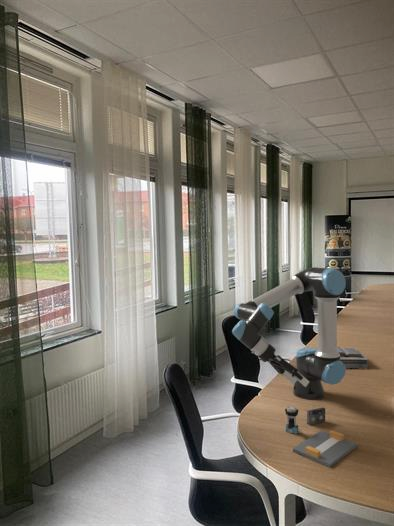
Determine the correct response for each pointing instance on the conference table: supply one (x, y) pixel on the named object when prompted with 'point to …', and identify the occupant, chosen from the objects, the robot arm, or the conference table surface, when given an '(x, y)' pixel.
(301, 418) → the conference table surface
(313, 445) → the mounting panel
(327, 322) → the robot arm
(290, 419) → the push button
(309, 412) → the mini dv tape
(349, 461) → the conference table surface
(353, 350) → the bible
